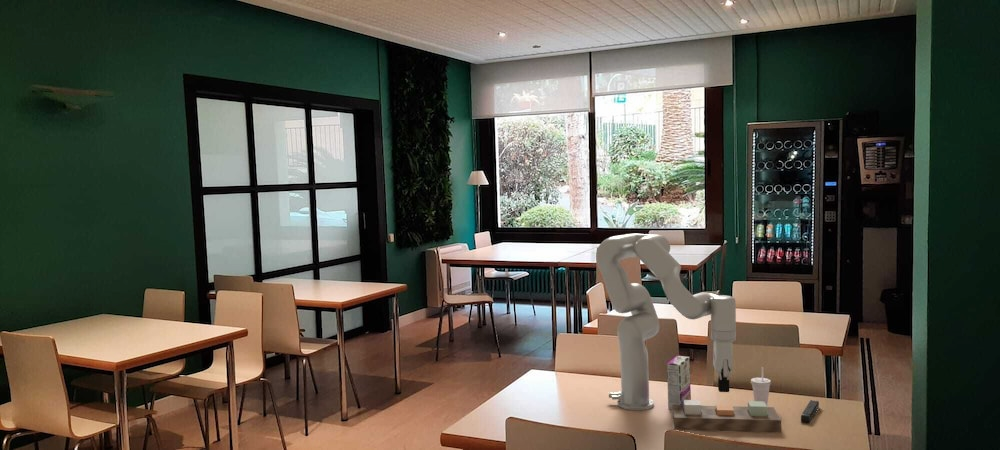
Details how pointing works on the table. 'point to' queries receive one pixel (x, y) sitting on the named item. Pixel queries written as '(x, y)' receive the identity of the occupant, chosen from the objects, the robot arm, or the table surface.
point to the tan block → (724, 410)
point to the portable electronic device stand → (809, 411)
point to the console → (726, 420)
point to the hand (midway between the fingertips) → (723, 391)
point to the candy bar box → (678, 381)
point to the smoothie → (761, 388)
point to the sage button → (757, 408)
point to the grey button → (692, 407)
